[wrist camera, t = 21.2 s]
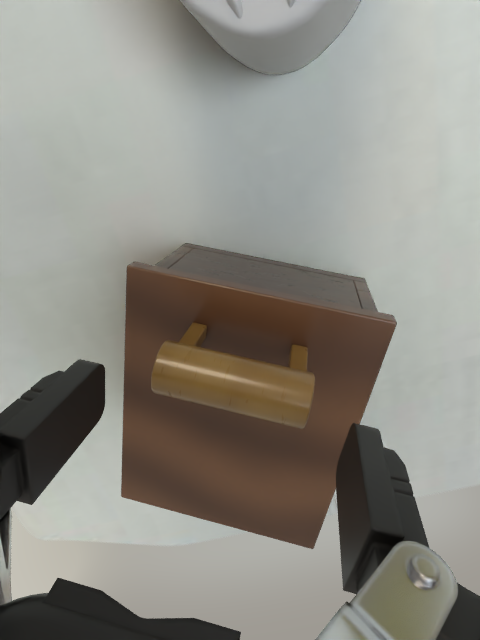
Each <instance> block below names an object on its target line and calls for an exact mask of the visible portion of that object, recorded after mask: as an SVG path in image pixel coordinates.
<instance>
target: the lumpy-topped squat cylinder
mask: <svg viewBox="0 0 480 640" xmlns="http://www.w3.org/2000/svg"><path fill="white" fill-rule="evenodd" d="M180 1H181V3H182V4H183V5H184V6H185V7H186V8H187V9H188V11H189V12H190V13H191V14H192V15H193V16H194V17H195V18H196V20H197V21H198V22H199V23H200V24H201V25H202V26H203V27H204V29H205V30H206V31H207V32H208V33H209V34H210V35H211V36H212V38H213V39H214V40H215V41H216V42H217V43H218V44H219V45H220V46H221V47H222V48H223V49H224V50H225V51H226V52H227V53H228V54H230V55H231V56H232V57H233V58H235V59H236V60H238V61H239V62H240V63H242V64H244V65H245V66H247V67H249V68H251V69H253V70H255V71H257V72H260V73H264V74H270V75H280V74H286V73H290V72H293V71H296V70H298V69H301V68H302V67H304V66H306V65H307V64H309V63H310V62H312V61H313V60H314V59H316V58H317V57H318V56H319V55H320V54H321V53H322V52H323V51H324V50H325V49H326V48H327V47H328V46H329V45H330V44H331V43H332V42H333V41H334V40H335V39H336V38H337V37H338V35H339V34H340V33H341V32H342V31H343V29H344V28H345V27H346V25H347V24H348V22H349V21H350V19H351V18H352V16H353V14H354V13H355V11H356V9H357V7H358V5H359V3H360V2H361V0H180Z"/></svg>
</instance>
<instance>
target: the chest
mask: <svg viewBox="0 0 480 640" xmlns="http://www.w3.org/2000/svg"><path fill="white" fill-rule="evenodd" d="M155 266H158V267H163V268H168V269H172V270H177V271H182V272H187V273H192V274H196V275H201V276H206V277H211V278H216V279H221V280H225V281H230V282H235V283H240V284H245V285H249V286H254V287H259V288H264V289H269V290H273V291H278V292H283V293H288V294H293V295H298V296H302V297H307V298H312V299H317V300H322V301H326V302H331V303H336V304H341V305H346V306H350V307H355V308H360V309H365V310H370V311H375V312H378V311H377V308H376V306H375V303H374V301H373V298H372V296H371V293H370V291H369V288H368V286H367V283H366V280H365V279H363V278H358V277H353V276H348V275H343V274H338V273H333V272H328V271H323V270H318V269H313V268H308V267H303V266H298V265H293V264H288V263H283V262H278V261H273V260H268V259H263V258H258V257H253V256H248V255H243V254H238V253H233V252H228V251H223V250H218V249H213V248H208V247H203V246H198V245H193V244H188V243H185V244H184V245H182V246H181V247H180V248H179V249H177V250H176V251H174V252H173V253H172V254H170V255H169V256H167V257H166V258H164V259H163V260H162V261H160V262H159V263H157V264H156V265H155Z"/></svg>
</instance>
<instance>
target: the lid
mask: <svg viewBox="0 0 480 640" xmlns="http://www.w3.org/2000/svg"><path fill="white" fill-rule="evenodd" d="M396 324H397V322H396V320H395V318H394V316H393V315H389V314H384V313H379V312H375V311H370V310H365V309H360V308H355V307H350V306H346V305H341V304H336V303H331V302H326V301H322V300H317V299H312V298H307V297H302V296H298V295H293V294H288V293H283V292H278V291H273V290H269V289H264V288H259V287H254V286H249V285H245V284H240V283H235V282H230V281H225V280H221V279H216V278H211V277H206V276H201V275H196V274H192V273H187V272H182V271H177V270H172V269H168V268H163V267H158V266H153V265H148V264H144V263H139V262H133V263H131V264H129V265H128V266H127V279H126V320H125V362H124V403H123V445H122V486H121V496H122V497H124V498H127V499H131V500H135V501H138V502H142V503H146V504H149V505H153V506H157V507H160V508H164V509H168V510H171V511H175V512H179V513H182V514H186V515H190V516H193V517H197V518H201V519H204V520H208V521H212V522H215V523H219V524H223V525H226V526H230V527H234V528H237V529H241V530H245V531H248V532H252V533H256V534H259V535H263V536H267V537H271V538H274V539H278V540H281V541H285V542H289V543H292V544H296V545H300V546H303V547H307V548H311V549H313V548H314V546H315V543H316V540H317V538H318V535H319V532H320V530H321V527H322V524H323V521H324V519H325V516H326V513H327V511H328V508H329V505H330V503H331V500H332V497H333V494H334V492H335V489H336V469H337V464H338V460H339V457H340V454H341V452H342V449H343V446H344V443H345V440H346V438H347V435H348V432H349V429H350V427H351V425H352V424H353V423H355V424H360V422H361V419H362V416H363V413H364V411H365V408H366V405H367V403H368V400H369V397H370V395H371V392H372V389H373V386H374V384H375V381H376V378H377V376H378V373H379V370H380V368H381V365H382V362H383V359H384V357H385V354H386V351H387V349H388V346H389V343H390V341H391V338H392V335H393V332H394V330H395V327H396Z"/></svg>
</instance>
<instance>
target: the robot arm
mask: <svg viewBox="0 0 480 640" xmlns="http://www.w3.org/2000/svg"><path fill="white" fill-rule="evenodd" d="M104 407H105V368H104V366H103V365H102V364H98V363H94V362H89V361H85V360H81V359H80V360H77V361H76V362H75V363H74V364H73V365H71V366H70V367H69V368H68V369H67V370H66V371H65V372H63V371H57V372H55V373H53V374H51V375H48V376H46V377H44V378H42V379H41V380H40V381H39V382H37V383H36V384H35V385H34V386H33V387H31V390H28V391H27V392H25V393H24V394H23V395H22V396H21V398H20V399H17V400H16V401H15V402H13V403H12V404H11V405H10V406H9V407H7V408H6V409H5V410H4V411H3V412H2V413H0V640H240V634H241V632H239V631H236V630H232V629H229V628H226V627H222V626H219V625H216V624H212V623H209V622H205V621H202V620H199V619H195V618H172V619H171V618H165V619H145V618H141V617H139V616H137V615H135V614H134V613H133V612H131V611H130V610H128V609H127V608H125V607H124V606H123V605H121V604H119V603H118V602H117V601H115V600H114V599H113V598H111V597H110V596H108V595H107V594H105V593H104V592H103V591H101V590H97V589H94V588H91V587H88V586H84V585H80V584H77V583H74V582H71V581H67V580H64V579H61V578H57V580H56V581H55V583H54V585H53V586H52V588H51V590H50V591H49V593H43V594H37V595H30V596H26V597H22V598H19V599H16V600H13V601H12V597H11V581H10V580H11V529H12V528H11V527H12V513H11V507H12V506H13V504H14V503H15V502H16V501H20V502H23V503H27V504H30V505H32V504H33V503H34V502H35V501H36V499H37V498H38V497H39V496H40V494H41V493H42V492H43V491H44V489H45V488H46V487H47V486H48V484H49V483H50V482H51V481H52V479H53V478H54V477H55V475H56V474H57V473H58V472H59V470H60V469H61V468H62V467H63V465H64V464H65V463H66V462H67V460H68V459H69V458H70V457H71V455H72V454H73V453H74V452H75V450H76V449H77V448H78V447H79V445H80V444H81V443H82V442H83V440H84V439H85V438H86V437H87V435H88V434H89V433H90V432H91V430H92V429H93V428H94V427H95V425H96V424H97V423H98V421H99V420H100V418H101V416H102V414H103V411H104ZM409 481H410V480H409V477H408V474H407V470H406V467H405V465H404V463H403V462H402V460H401V459H400V458H399V456H398V455H397V454H396V452H395V451H394V450H390V449H386V448H383V443H382V439H381V435H380V431H379V430H378V429H376V428H372V427H368V426H364V425H359V424H355V423H353V424H352V425H351V427H350V429H349V432H348V435H347V438H346V440H345V443H344V446H343V449H342V452H341V454H340V457H339V460H338V464H337V469H336V492H337V506H338V521H339V535H340V549H341V564H342V578H343V590H344V591H348V592H352V593H355V594H356V596H355V597H354V598H353V599H352V601H351V602H350V603H348V602H346V603H345V604H344V605H343V606H342V607H341V608H340V609H339V610H338V612H337V613H336V614H335V615H334V617H333V618H332V619H331V620H330V622H329V623H328V624H327V625H326V627H325V628H324V629H323V630H322V632H321V633H320V634H319V636H318V637H317V638H316V639H315V640H480V596H478V595H476V594H475V593H473V592H471V591H470V590H467V589H466V588H464V587H463V586H461V585H460V584H458V583H457V582H456V579H455V577H454V575H453V572H452V571H451V569H450V567H449V566H448V565H447V564H446V562H445V561H444V560H443V559H442V558H441V557H440V556H439V555H438V554H436V553H435V552H434V551H433V550H431V549H430V548H429V545H428V542H427V538H426V535H425V532H424V528H423V525H422V521H421V518H420V515H419V511H418V508H417V505H416V501H415V498H414V497H413V491H412V487H411V484H410V483H409Z"/></svg>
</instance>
